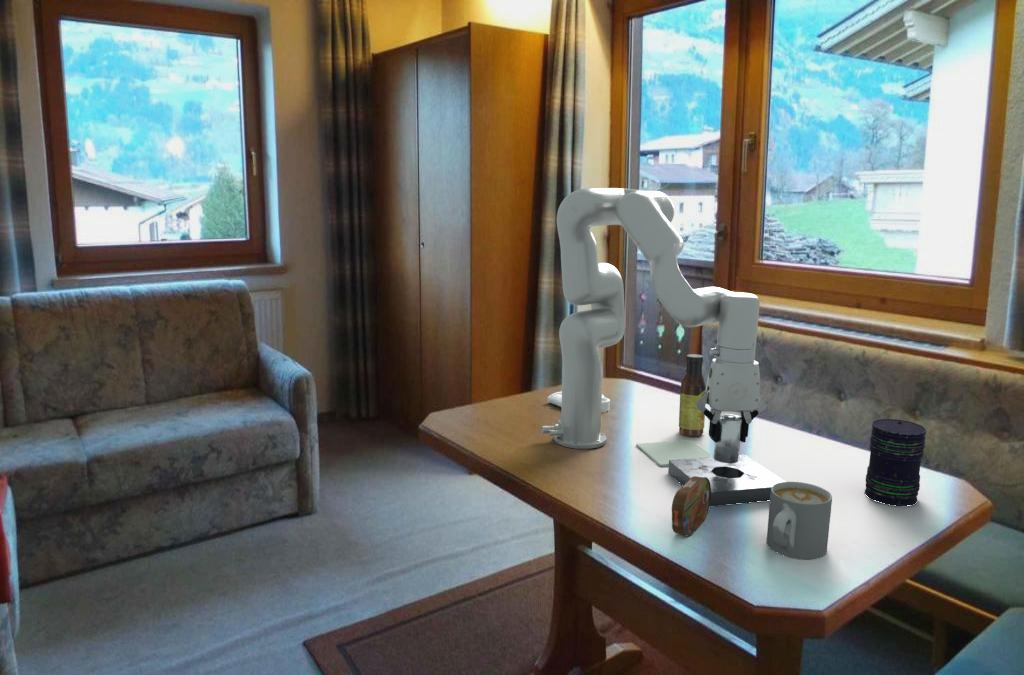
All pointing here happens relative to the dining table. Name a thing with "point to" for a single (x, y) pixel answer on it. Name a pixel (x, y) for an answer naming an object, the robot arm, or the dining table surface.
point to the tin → (691, 505)
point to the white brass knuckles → (557, 400)
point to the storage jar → (895, 461)
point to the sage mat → (672, 451)
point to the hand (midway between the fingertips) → (727, 439)
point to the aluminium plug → (728, 439)
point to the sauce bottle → (692, 397)
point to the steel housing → (728, 478)
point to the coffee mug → (799, 520)
